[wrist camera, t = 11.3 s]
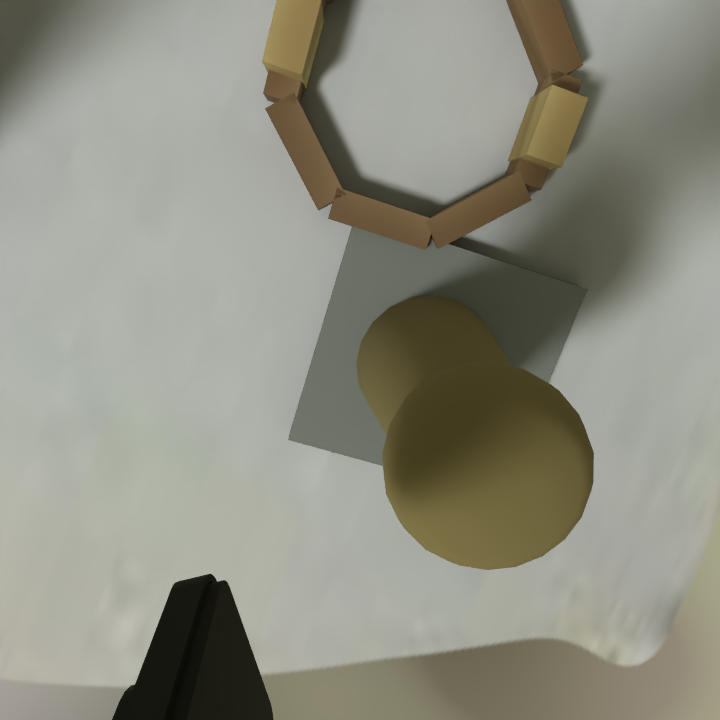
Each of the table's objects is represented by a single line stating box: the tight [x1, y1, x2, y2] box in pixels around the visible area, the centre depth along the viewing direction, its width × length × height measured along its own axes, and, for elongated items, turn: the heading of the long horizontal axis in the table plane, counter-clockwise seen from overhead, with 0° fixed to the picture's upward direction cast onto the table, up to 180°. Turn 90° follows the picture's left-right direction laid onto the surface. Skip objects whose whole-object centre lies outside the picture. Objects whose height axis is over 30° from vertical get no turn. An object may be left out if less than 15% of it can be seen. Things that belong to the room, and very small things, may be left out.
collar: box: [262, 0, 588, 250], centre depth 19 cm, size 11×11×2 cm
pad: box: [288, 226, 587, 466], centre depth 23 cm, size 10×10×1 cm
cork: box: [356, 295, 594, 570], centre depth 17 cm, size 6×6×11 cm
